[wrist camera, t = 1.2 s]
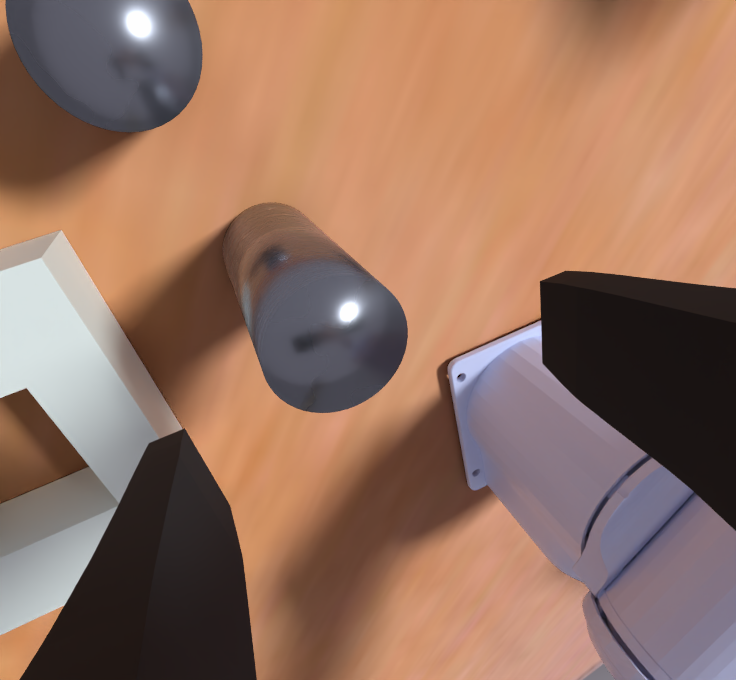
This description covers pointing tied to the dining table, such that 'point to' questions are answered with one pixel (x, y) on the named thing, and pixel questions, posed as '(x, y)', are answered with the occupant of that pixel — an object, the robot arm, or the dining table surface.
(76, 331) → the board
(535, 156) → the dining table surface
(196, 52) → the pin short
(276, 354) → the pin long
